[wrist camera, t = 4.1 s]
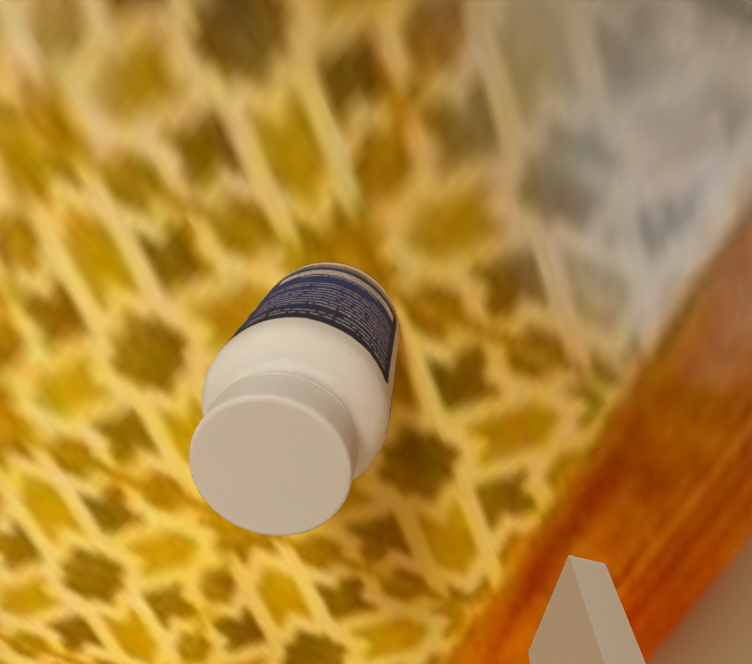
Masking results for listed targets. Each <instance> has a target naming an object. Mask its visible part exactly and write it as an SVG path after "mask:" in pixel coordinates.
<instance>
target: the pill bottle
mask: <svg viewBox="0 0 752 664" xmlns="http://www.w3.org/2000/svg"><path fill="white" fill-rule="evenodd" d="M398 342H399V323H398V318H397V314H396V311H395V308H394V306H393V304H392V302H391V300H390V298H389V296H388V295H387V293H386V292H385V290H384V289H383V288H382V287H381V286H380V285H379V284H378V283H377V282H376V281H375V280H374V279H373V278H371V277H370V276H369V275H367V274H366V273H364V272H362V271H360V270H358V269H356V268H354V267H351V266H348V265H344V264H339V263H329V262H324V263H315V264H310V265H307V266H304V267H301V268H299V269H297V270H295V271H293V272H291V273H290V274H288V275H287V276H285V277H284V278H283V279H282V280H280V281H279V282H278V283H277V284H276V285H275V286H274V287H273V288H272V290H271V291H270V292H269V293H268V294H267V296H266V297H265V298H264V299H263V300H262V302H261V303H260V304H259V305H258V306H257V308H256V309H255V310H254V311H253V312H252V313H251V314H250V316H249V317H248V318H247V319H246V321H245V322H244V323H243V324H242V326H241V327H240V328H239V329H238V330H237V331H236V332H235V334H234V335H233V336H232V337H231V339H230V340H229V341H228V342H227V343H226V344H225V346H224V347H223V348H222V349H221V351H220V352H219V353H218V355H217V356H216V358H215V359H214V361H213V362H212V364H211V366H210V368H209V370H208V373H207V375H206V377H205V381H204V385H203V389H202V400H201V401H202V414H203V418H202V420H201V421H200V423H199V425H198V426H197V428H196V430H195V432H194V434H193V437H192V440H191V444H190V452H189V464H190V470H191V474H192V478H193V480H194V483H195V485H196V487H197V489H198V491H199V492H200V494H201V496H202V497H203V498H204V500H205V501H206V502H207V503H208V504H209V506H210V507H211V508H212V509H213V510H214V511H216V512H217V513H218V514H219V515H220V516H222V517H223V518H225V519H226V520H227V521H229V522H231V523H233V524H234V525H236V526H239V527H241V528H243V529H246V530H248V531H252V532H255V533H259V534H264V535H273V536H288V535H295V534H300V533H304V532H308V531H310V530H312V529H315V528H317V527H319V526H321V525H322V524H324V523H325V522H327V521H328V520H329V519H331V518H332V517H333V516H334V515H335V514H336V513H337V512H338V510H339V509H340V508H341V507H342V505H343V504H344V502H345V500H346V499H347V496H348V494H349V492H350V488H351V485H352V480H354V479H355V478H357V477H358V476H359V475H360V474H362V473H363V472H364V471H365V470H366V469H367V468H368V467H369V466H370V465H371V463H372V462H373V461H374V459H375V458H376V456H377V455H378V453H379V451H380V450H381V448H382V446H383V443H384V441H385V437H386V434H387V430H388V425H389V419H390V413H391V402H392V394H393V385H394V377H395V368H396V361H397V353H398Z"/></svg>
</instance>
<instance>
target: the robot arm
mask: <svg viewBox="0 0 752 664" xmlns="http://www.w3.org/2000/svg"><path fill="white" fill-rule="evenodd" d="M528 654H529V660H530V664H646V663H645V661H644V658H643V656H642V653H641V651H640V648H639V646H638V644H637V641H636V639H635V636H634V634H633V631H632V629H631V626H630V624H629V621H628V619H627V616H626V614H625V611H624V609H623V606H622V604H621V602H620V599H619V597H618V594H617V592H616V589H615V587H614V584H613V582H612V579H611V577H610V574H609V572H608V569H607V567H606V564H605V563H601V562H597V561H593V560H588V559H584V558H580V557H576V556H571V555H569V556H568V558H567V560H566V563H565V565H564V568H563V570H562V572H561V575H560V577H559V579H558V582H557V584H556V587H555V589H554V591H553V594H552V596H551V599H550V601H549V603H548V606H547V608H546V611H545V613H544V615H543V618H542V620H541V622H540V625H539V627H538V630H537V632H536V634H535V637H534V639H533V642H532V644H531V646H530V649H529V651H528Z"/></svg>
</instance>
